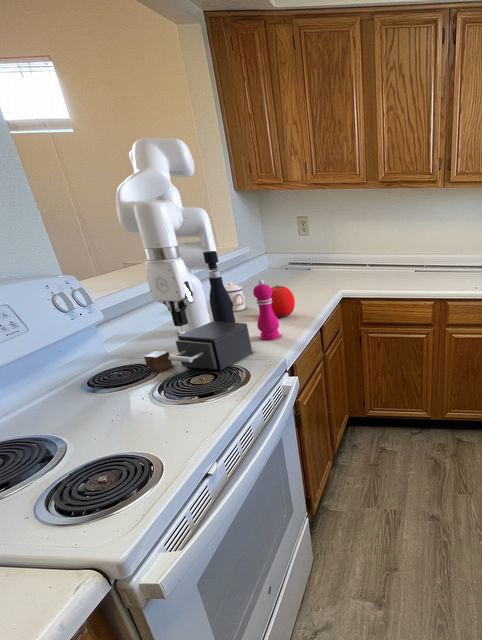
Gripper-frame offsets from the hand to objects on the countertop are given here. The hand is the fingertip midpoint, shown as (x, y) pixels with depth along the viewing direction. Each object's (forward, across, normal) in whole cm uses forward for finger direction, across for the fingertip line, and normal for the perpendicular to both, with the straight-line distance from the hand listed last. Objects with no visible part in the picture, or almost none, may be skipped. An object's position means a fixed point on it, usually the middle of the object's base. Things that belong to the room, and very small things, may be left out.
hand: (181, 324), depth 112 cm
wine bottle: (+14, -7, +24) cm, 29 cm away
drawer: (+13, 0, +6) cm, 15 cm away
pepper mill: (+14, +3, +33) cm, 36 cm away
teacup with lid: (+14, -34, +63) cm, 73 cm away
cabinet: (+14, 0, +11) cm, 18 cm away
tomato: (+14, -8, +57) cm, 59 cm away
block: (+14, -13, +1) cm, 19 cm away
